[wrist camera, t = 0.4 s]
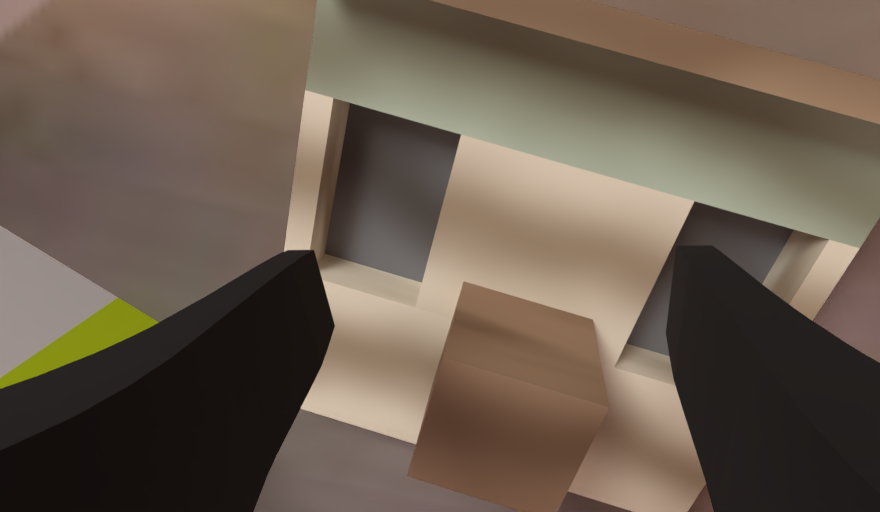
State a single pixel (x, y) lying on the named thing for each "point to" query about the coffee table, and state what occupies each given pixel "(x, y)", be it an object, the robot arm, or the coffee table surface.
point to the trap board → (562, 197)
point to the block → (511, 402)
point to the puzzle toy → (53, 313)
